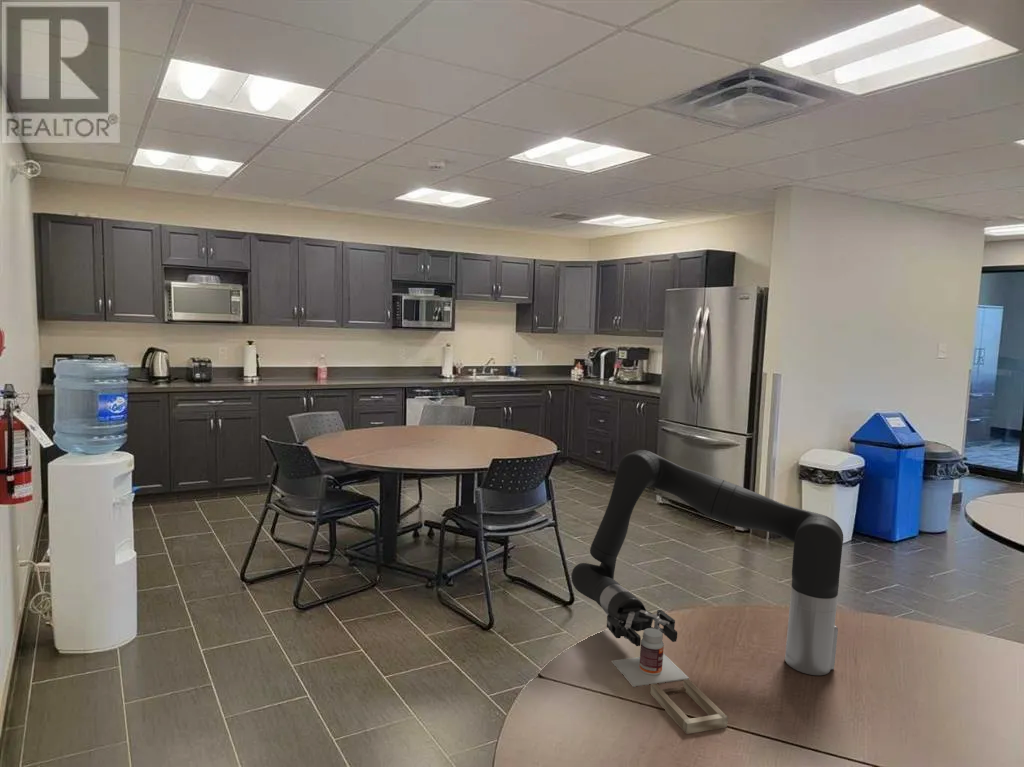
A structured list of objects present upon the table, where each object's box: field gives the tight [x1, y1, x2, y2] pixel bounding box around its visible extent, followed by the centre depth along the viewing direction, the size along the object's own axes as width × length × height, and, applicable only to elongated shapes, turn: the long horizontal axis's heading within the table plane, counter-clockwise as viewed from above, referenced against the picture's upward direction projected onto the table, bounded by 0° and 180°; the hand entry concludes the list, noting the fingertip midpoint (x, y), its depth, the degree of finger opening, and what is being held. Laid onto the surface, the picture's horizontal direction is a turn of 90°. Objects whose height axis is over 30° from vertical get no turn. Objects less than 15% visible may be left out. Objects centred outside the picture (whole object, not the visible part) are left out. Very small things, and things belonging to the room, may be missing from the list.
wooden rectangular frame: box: [649, 678, 729, 735], centre depth 125 cm, size 9×13×2 cm, turn 18°
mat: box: [611, 653, 690, 688], centre depth 139 cm, size 13×10×1 cm
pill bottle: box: [639, 627, 665, 675], centre depth 138 cm, size 5×5×8 cm
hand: (657, 639), depth 136 cm, fingers open, 8 cm apart
